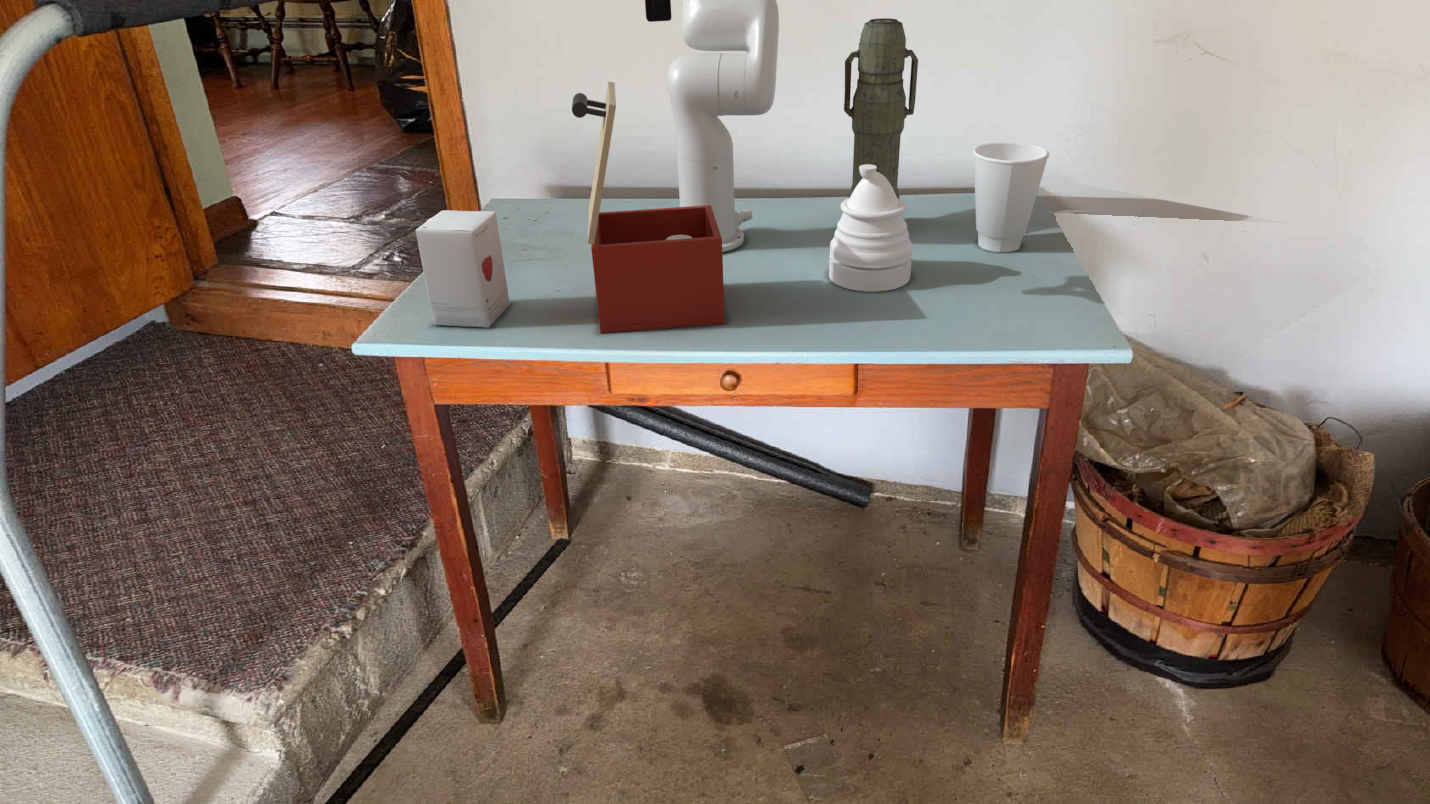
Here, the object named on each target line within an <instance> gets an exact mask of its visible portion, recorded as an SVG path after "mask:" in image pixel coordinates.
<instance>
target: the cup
mask: <svg viewBox="0 0 1430 804" xmlns="http://www.w3.org/2000/svg"><path fill="white" fill-rule="evenodd" d="M972 154H973V173H974V175H973V177H974V203H975V204H974V205H975V231H976V232H977V245H978V247H979V248H981V249H983V250H985V251H988V252H993V253H1012V252H1015V251H1017V250H1019V249H1020V248H1021V245H1022V240H1023V237H1024V235H1026V232H1027V229H1028V227H1029V223H1030V219H1031V216H1032V213H1033V209H1034V207H1035V206H1034V205H1035V202H1036V199H1037V196H1038V192H1039V189H1040V185H1041V182H1042V178H1043V175H1044V171H1045V169H1046V165H1047V161H1048V159H1049V157H1050V152H1049V150H1047V149H1046V148H1044V147H1041V146H1039V145H1035V144H1030V143H1025V142H1016V141H1015V142H1013V141H999V142H989V143H984V144H981V145H978V146H976V147H974V149H973V151H972Z"/></svg>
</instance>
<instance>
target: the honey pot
mask: <svg viewBox="0 0 1430 804" xmlns="http://www.w3.org/2000/svg"><path fill="white" fill-rule="evenodd" d="M876 168H877V166H875V165H870V164H865V165H861V166H859V171H860V174H861V176H862V180H861V181H860V182H859V183H858V185H857V186H856V188H855V189H854V191H853V193H852V194H851V196H850V198H849V197H848V198H846V199H844V200H843V201H842V202H841V203H840V210H841V211H842V214H841V216H840V218H839V220H838V221H837V223H836V226H837V227H836V229H835V231H834V236H833V238H832V239H831V241H830V243H829V249H830V250H829V262H828V263H829V264H828V278H829V280H830V281H831V282H832V283H834V284H835V285H837V286H838V287H842V288H844V289H847V290H852V291H857V292H866V293H867V292H869V293H870V292H872V293H873V292H875V293H876V292H886V291H891V290H895V289H896V290H897V289H899V288H901V287H904V286H905V285H906V284H908V283H909V282H910V279H911V272H912V260H913V258H912V255H913V244H912V241H911V239H910V233H909V231H908V223H907V222H906V221H905V218H904V215H903V214H905V212H906V211H907V208H908V207H907V204H906V202H905V201H903V200H902V199H898V198H897V197H896V194H895V192H894V190H893V188H892V186H891V184H890V183H889V181H888V180H887V179H886V177H884V176H883V175H882V174H880V173H878V172H876Z"/></svg>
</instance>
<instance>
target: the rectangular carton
mask: <svg viewBox="0 0 1430 804" xmlns="http://www.w3.org/2000/svg"><path fill="white" fill-rule="evenodd" d="M415 234H416V241H417V245H418V250H419V256H420V261H421V266H422V272H423V277H424V280H425V287H426V292H427V298H428V302H429V308H430V312H431V319H432V323H433V325H434V326H450V327H468V328H469V327H470V328H485V329H488V328H490V327H491V326H492V324H493V323H495V322H496V320H498V318H499V317H500V316H501V315H502V314H503V312H504V311H505V310H506V309H507V308H508V307H509V306H510V297H509V291H508V290H509V289H508V282H507V276H506V270H505V264H504V257H503V250H502V245H501V238H500V231H499V224H498V217H497V211H489V210H487V211H485V210H449V209H445V210H441V211H439V212H437V214H435V215H434V216H432V217H430V218H428V219H427V220H426V222H423V223H422V225H420V226H418V228H416V229H415Z"/></svg>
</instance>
